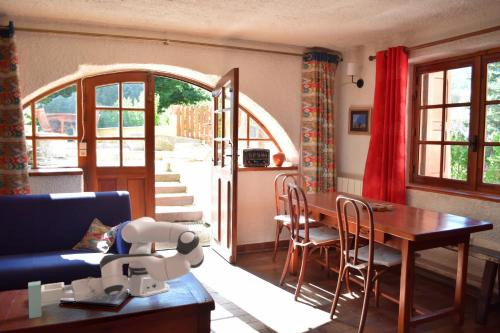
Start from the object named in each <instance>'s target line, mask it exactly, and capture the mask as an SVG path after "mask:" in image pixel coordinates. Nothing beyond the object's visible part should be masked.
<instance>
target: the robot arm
mask: <svg viewBox="0 0 500 333" xmlns="http://www.w3.org/2000/svg"><path fill="white" fill-rule="evenodd" d="M120 235H121V238H122V239H123V241H125V242H126V243H130V244H131V247H130V249H129V252H128V253H127V254H115V253H114V254H111V253H110V254H107V255H104V256H103V257H102V258H101V260H100V261H99V267H100V271H101V277H97V278H96V277H92V276H88V277H87V278H82V279H76V280H73V281H71V284H68V285H67V286H64V287H62V292H65V291H67V290H72V292H73V293H64V294H63V298H74V300H75V301H76V302H80V301H81V302H82V301H85V300H90V299H93V298H98V297H103V296H108V297H109V296H115V295H116V296H117V295H119V294H120V293H123V292H127V289H129V290H130V293H131V295H130V296H135V297H141V298H145V297H146V298H147V297H149V296H154V295H159V294H161V293H167V292H170V290H171V288H170V285H169V284H168V283H166V282H169V281H173V280H175V279H179V278H182V277H184V276H186V275H188V274H189V273H190V271H191V269H196V268H199V267H200V266H202V264H203V262H204V259H205V254H204V250H203V246H202V243H201V241H200V237H199V235H198V234H197V233H196V232H195V230H194V228H193V227H192V226H189V225H186V224H181V223H175V222H168V221H156V220H155V219H154V218H153V217H150V216H143V217H139V218H137V219H134V220H132V221H129V222H127V223H126V224H125V225H124V226H123V227H122V229H121V234H120ZM153 243H154V244H155V243H158V244H166V245H174V246H176V248H175V250H176V252H177V253H176V254H174V255H172V256H171V255H170V256H167V257H156V255H155V254H152V252H151V251H152V245H153ZM124 264H129V265H128V268H127V269H128V271H127V273H128V276H127V275H124V274H123V273H124V270H123V265H124Z"/></svg>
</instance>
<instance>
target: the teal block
mask: <svg viewBox="0 0 500 333" xmlns="http://www.w3.org/2000/svg"><path fill="white" fill-rule="evenodd" d="M41 282H42V281H41V280H38V281H31V282H28V283H27V284H28V285H27V287H28V288H27V290H28V291H27V293H28V317H29V318H28V319H34V318H42V313H43V312H42V308H41V293H42V292H41V284H42V283H41Z"/></svg>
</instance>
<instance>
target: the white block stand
mask: <svg viewBox="0 0 500 333" xmlns="http://www.w3.org/2000/svg"><path fill="white" fill-rule="evenodd" d="M62 287H65V282H63V281H62V282H57V283H56V282H55V283H47V284H42V285H41V309H42V308H47V307H53V306H59V304H60V303H61V302H60V299H61V298H63V294H64V293H67V292H69V291H70V290H67V291H65V292H62Z"/></svg>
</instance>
